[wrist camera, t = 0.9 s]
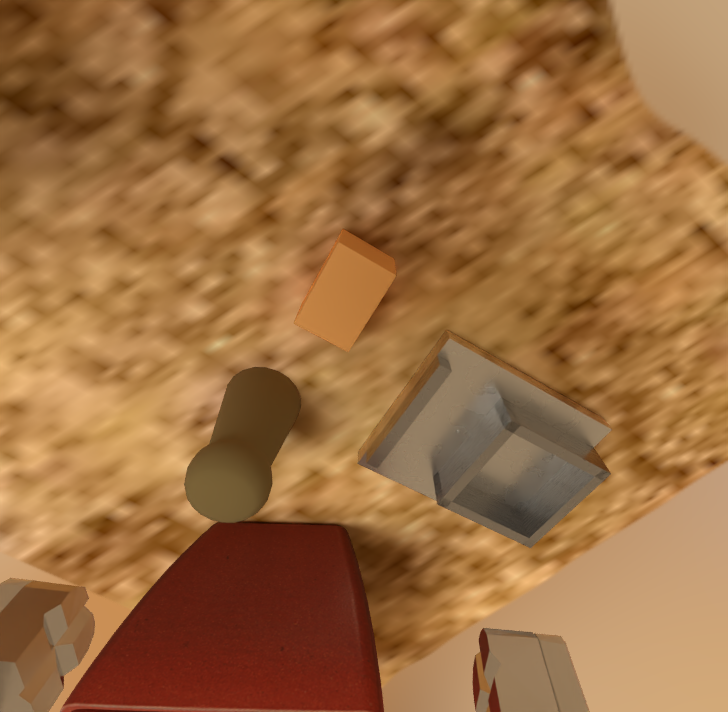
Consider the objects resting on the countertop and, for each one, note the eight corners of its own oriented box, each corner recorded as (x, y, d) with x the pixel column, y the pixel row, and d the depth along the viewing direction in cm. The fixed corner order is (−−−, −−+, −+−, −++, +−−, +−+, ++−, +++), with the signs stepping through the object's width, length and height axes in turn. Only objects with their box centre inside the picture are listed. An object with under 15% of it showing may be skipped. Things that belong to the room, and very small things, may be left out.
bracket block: (302, 301, 33) (293, 323, 29) (342, 228, 30) (338, 242, 27) (351, 328, 34) (348, 352, 30) (394, 258, 31) (396, 275, 28)
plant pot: (379, 631, 49) (379, 852, 34) (204, 625, 50) (128, 841, 35) (383, 498, 41) (385, 716, 26) (171, 493, 41) (53, 704, 26)
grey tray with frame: (358, 451, 38) (355, 489, 34) (446, 329, 33) (455, 357, 29) (501, 520, 41) (514, 562, 37) (603, 418, 36) (631, 455, 32)
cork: (216, 371, 35) (153, 466, 26) (292, 362, 35) (258, 456, 25) (236, 434, 38) (187, 542, 28) (307, 427, 38) (282, 534, 28)
